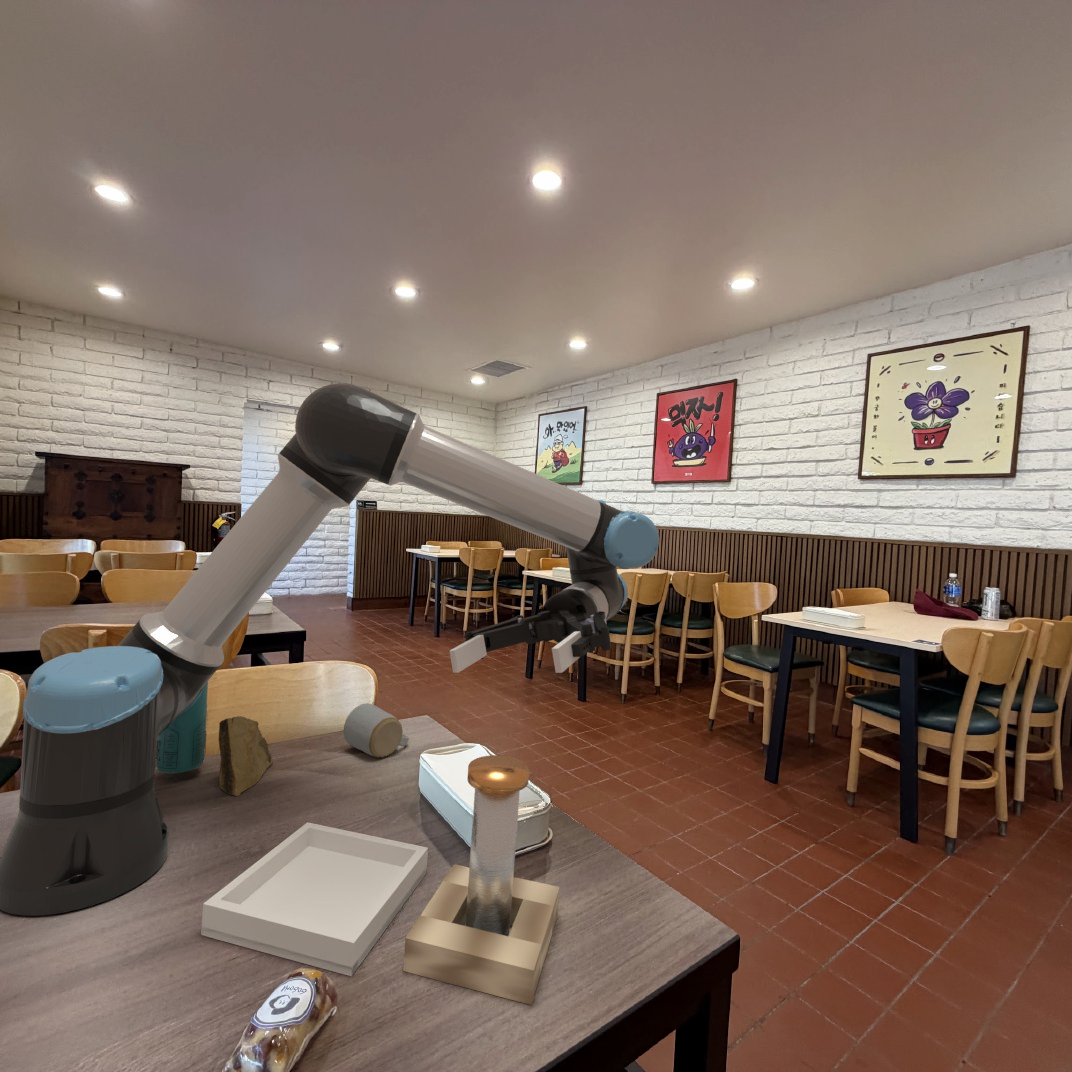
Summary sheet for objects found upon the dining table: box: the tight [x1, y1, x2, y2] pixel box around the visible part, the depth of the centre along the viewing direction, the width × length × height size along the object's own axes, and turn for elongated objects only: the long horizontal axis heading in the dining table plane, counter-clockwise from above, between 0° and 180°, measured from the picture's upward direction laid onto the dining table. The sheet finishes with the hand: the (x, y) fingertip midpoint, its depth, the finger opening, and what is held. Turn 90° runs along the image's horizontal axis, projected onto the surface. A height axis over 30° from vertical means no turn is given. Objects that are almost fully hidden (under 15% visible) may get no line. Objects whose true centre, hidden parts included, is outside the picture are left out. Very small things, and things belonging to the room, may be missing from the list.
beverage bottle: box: [155, 681, 209, 774], centre depth 86 cm, size 6×7×20 cm
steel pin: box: [465, 754, 530, 936], centre depth 56 cm, size 6×6×17 cm
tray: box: [200, 822, 429, 977], centre depth 60 cm, size 16×16×3 cm
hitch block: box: [402, 864, 561, 1006], centre depth 56 cm, size 12×12×3 cm
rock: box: [218, 715, 274, 797], centre depth 86 cm, size 11×9×10 cm
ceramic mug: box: [343, 702, 410, 758], centre depth 101 cm, size 11×8×8 cm
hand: (502, 661), depth 64 cm, fingers open, 13 cm apart
